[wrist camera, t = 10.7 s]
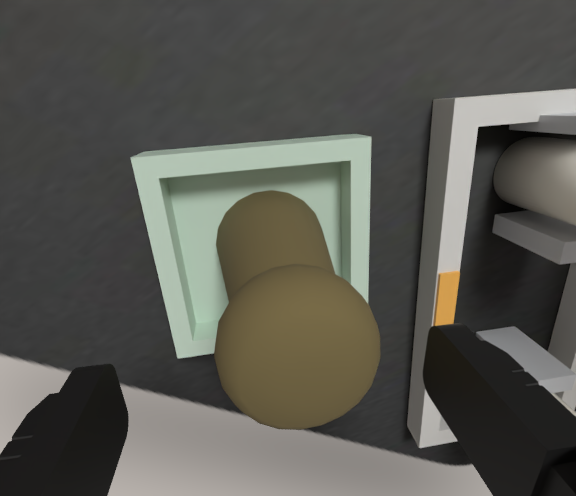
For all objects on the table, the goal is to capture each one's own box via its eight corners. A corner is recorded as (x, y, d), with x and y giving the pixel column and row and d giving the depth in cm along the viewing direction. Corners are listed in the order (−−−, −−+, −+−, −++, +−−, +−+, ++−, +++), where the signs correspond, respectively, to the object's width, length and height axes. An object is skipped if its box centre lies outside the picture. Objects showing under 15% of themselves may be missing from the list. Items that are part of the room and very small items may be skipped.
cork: (279, 307, 21) (320, 486, 11) (194, 255, 19) (149, 416, 9) (343, 231, 20) (454, 355, 10) (259, 166, 18) (289, 240, 8)
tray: (143, 151, 18) (130, 157, 15) (355, 133, 19) (371, 136, 16) (183, 333, 22) (177, 358, 20) (354, 309, 23) (367, 331, 21)
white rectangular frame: (433, 99, 19) (498, 96, 14) (639, 83, 20) (760, 76, 15) (406, 425, 28) (441, 488, 23) (549, 400, 29) (609, 455, 24)
